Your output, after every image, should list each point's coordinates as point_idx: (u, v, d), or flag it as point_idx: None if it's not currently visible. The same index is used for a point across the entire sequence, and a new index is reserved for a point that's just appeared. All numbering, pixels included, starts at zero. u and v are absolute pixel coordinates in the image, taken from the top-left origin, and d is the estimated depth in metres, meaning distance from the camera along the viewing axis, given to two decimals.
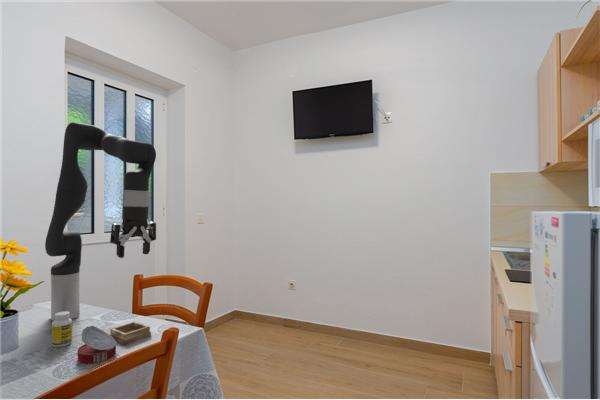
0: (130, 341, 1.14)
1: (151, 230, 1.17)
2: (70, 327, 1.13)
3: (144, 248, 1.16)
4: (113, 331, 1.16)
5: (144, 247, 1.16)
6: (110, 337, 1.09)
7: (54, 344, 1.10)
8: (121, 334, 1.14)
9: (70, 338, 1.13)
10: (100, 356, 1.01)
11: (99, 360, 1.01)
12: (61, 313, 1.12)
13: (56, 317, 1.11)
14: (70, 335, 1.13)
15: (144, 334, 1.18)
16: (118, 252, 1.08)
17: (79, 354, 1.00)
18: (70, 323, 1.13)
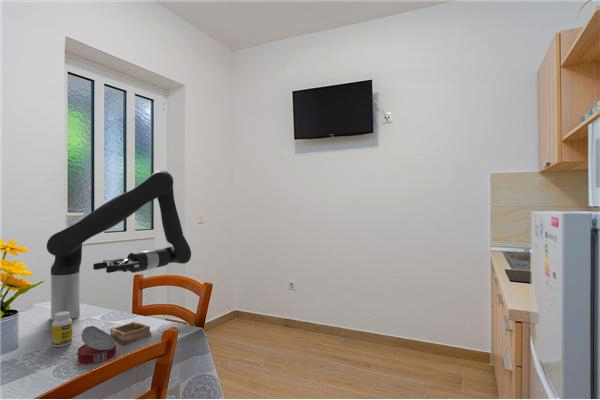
0: (130, 341, 1.14)
1: (113, 263, 1.32)
2: (70, 327, 1.13)
3: (99, 266, 1.26)
4: (113, 331, 1.16)
5: (100, 265, 1.26)
6: (110, 337, 1.09)
7: (54, 344, 1.10)
8: (121, 334, 1.14)
9: (70, 338, 1.13)
10: (100, 356, 1.01)
11: (99, 360, 1.01)
12: (61, 313, 1.12)
13: (56, 317, 1.11)
14: (70, 335, 1.13)
15: (144, 334, 1.18)
16: (113, 269, 1.21)
17: (79, 354, 1.00)
18: (70, 323, 1.13)
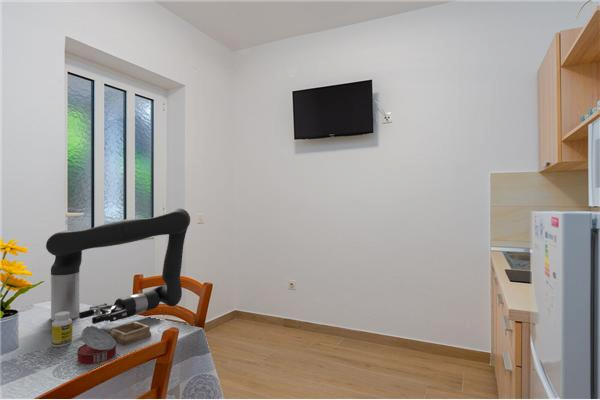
0: (130, 341, 1.14)
1: None
2: (70, 327, 1.13)
3: (85, 314, 1.23)
4: (113, 331, 1.16)
5: (86, 313, 1.23)
6: (110, 337, 1.09)
7: (54, 344, 1.10)
8: (121, 334, 1.14)
9: (70, 338, 1.13)
10: (100, 356, 1.01)
11: (99, 360, 1.01)
12: (61, 313, 1.12)
13: (56, 317, 1.11)
14: (70, 335, 1.13)
15: (144, 334, 1.18)
16: (99, 320, 1.17)
17: (79, 354, 1.00)
18: (70, 323, 1.13)
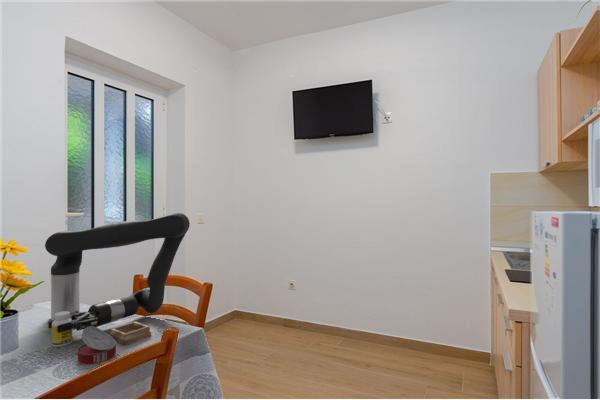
0: (130, 341, 1.14)
1: (72, 318, 1.20)
2: None
3: None
4: (113, 331, 1.16)
5: None
6: (110, 337, 1.09)
7: (54, 344, 1.10)
8: (121, 334, 1.14)
9: (70, 338, 1.13)
10: (100, 356, 1.01)
11: (99, 360, 1.01)
12: (61, 313, 1.12)
13: (56, 317, 1.11)
14: (70, 335, 1.13)
15: (144, 334, 1.18)
16: (64, 329, 1.10)
17: (79, 354, 1.00)
18: None
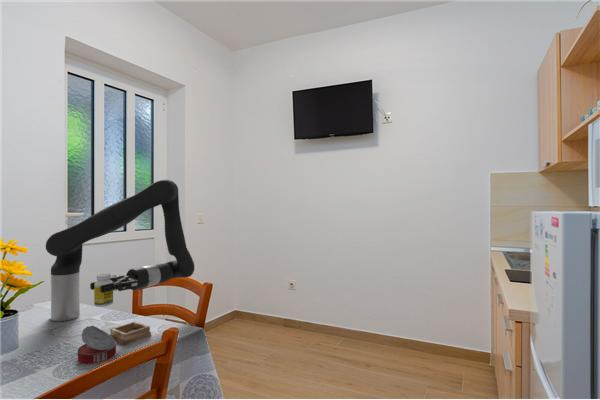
0: (130, 341, 1.14)
1: None
2: None
3: None
4: (113, 331, 1.16)
5: None
6: (110, 337, 1.09)
7: (97, 304, 1.13)
8: (121, 334, 1.14)
9: (112, 299, 1.16)
10: (100, 356, 1.01)
11: (99, 360, 1.01)
12: (103, 274, 1.16)
13: (98, 278, 1.14)
14: (112, 296, 1.16)
15: (144, 334, 1.18)
16: (107, 289, 1.13)
17: (79, 354, 1.00)
18: None
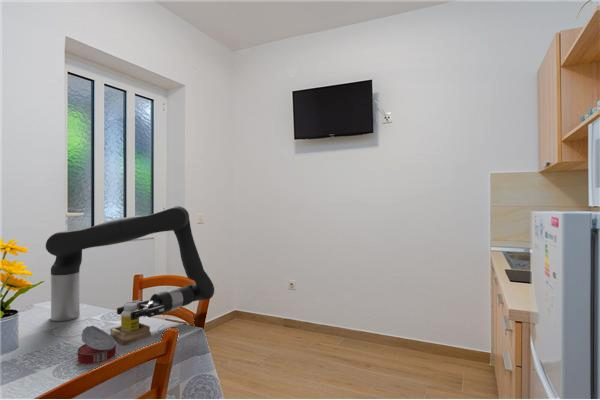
0: (130, 341, 1.14)
1: None
2: None
3: (123, 310, 1.20)
4: (113, 331, 1.16)
5: None
6: (110, 337, 1.08)
7: None
8: (121, 334, 1.14)
9: (138, 328, 1.18)
10: (100, 356, 1.01)
11: (99, 360, 1.01)
12: (129, 304, 1.18)
13: (126, 308, 1.16)
14: (138, 325, 1.19)
15: (144, 334, 1.18)
16: (137, 315, 1.15)
17: (79, 354, 1.00)
18: None
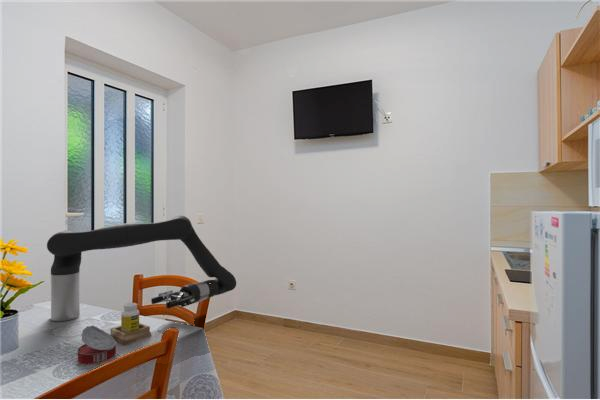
0: (130, 341, 1.14)
1: None
2: (138, 317, 1.18)
3: (157, 300, 1.31)
4: (113, 331, 1.16)
5: (157, 299, 1.31)
6: (110, 337, 1.08)
7: None
8: (121, 334, 1.14)
9: (138, 328, 1.18)
10: (100, 356, 1.01)
11: (99, 360, 1.01)
12: (129, 304, 1.18)
13: (126, 308, 1.16)
14: (138, 325, 1.19)
15: (144, 334, 1.18)
16: (172, 305, 1.26)
17: (79, 354, 1.00)
18: (138, 314, 1.18)
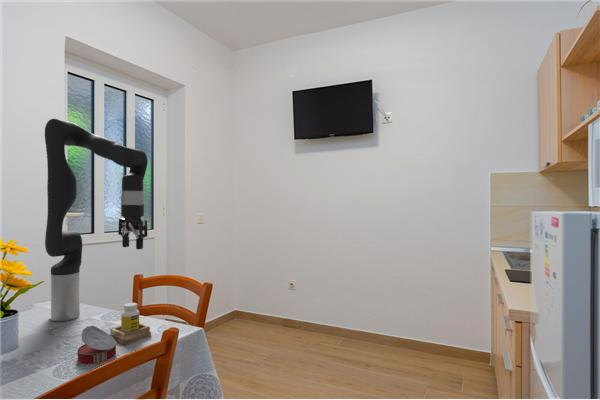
0: (130, 341, 1.14)
1: None
2: (138, 317, 1.18)
3: (126, 241, 1.31)
4: (113, 331, 1.16)
5: (125, 241, 1.31)
6: (110, 337, 1.08)
7: None
8: (121, 334, 1.14)
9: (138, 328, 1.18)
10: (100, 356, 1.01)
11: (99, 360, 1.01)
12: (130, 304, 1.18)
13: (126, 308, 1.16)
14: (138, 325, 1.19)
15: (144, 334, 1.18)
16: (141, 244, 1.27)
17: (79, 354, 1.00)
18: (138, 314, 1.18)
